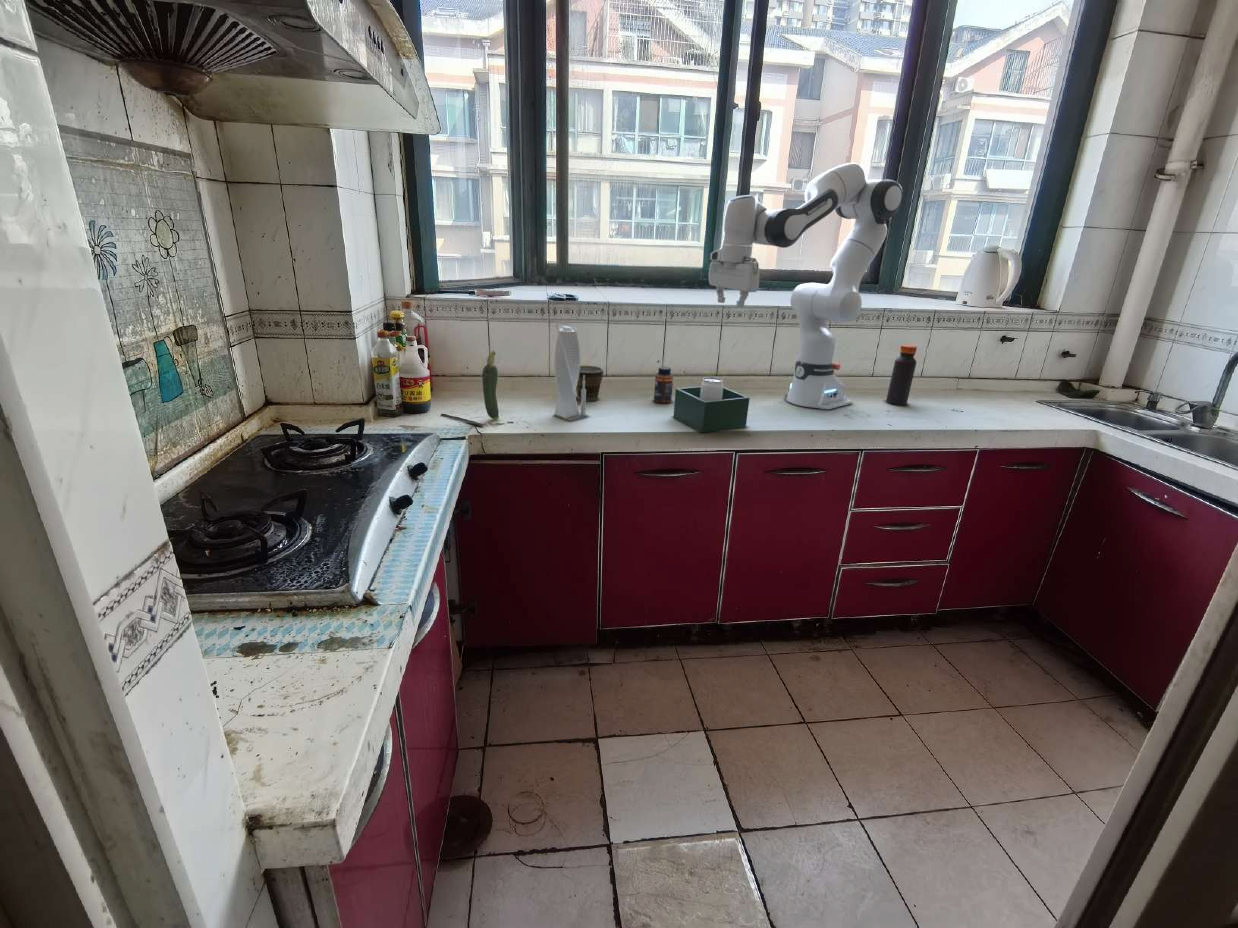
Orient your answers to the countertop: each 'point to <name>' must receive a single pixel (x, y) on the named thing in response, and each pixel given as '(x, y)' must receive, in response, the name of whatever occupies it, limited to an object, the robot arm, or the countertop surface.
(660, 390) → the supplement bottle
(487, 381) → the vegetable
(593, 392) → the ceramic cup
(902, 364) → the vinegar
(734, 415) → the bin
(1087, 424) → the countertop surface
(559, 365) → the skyscraper
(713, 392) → the can
